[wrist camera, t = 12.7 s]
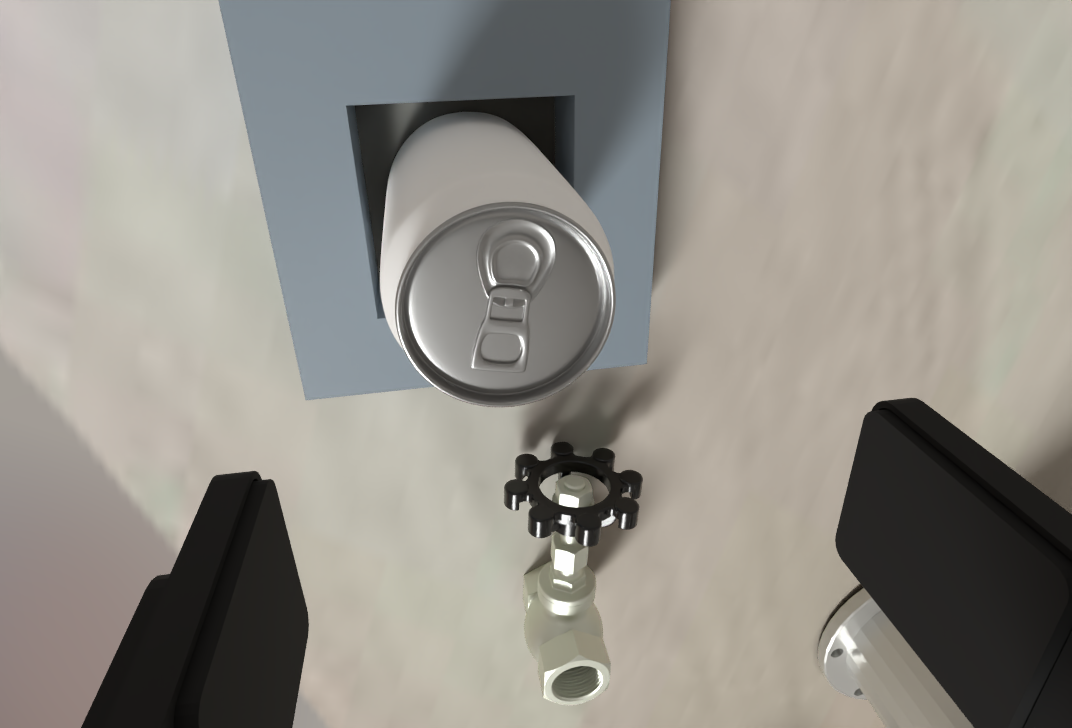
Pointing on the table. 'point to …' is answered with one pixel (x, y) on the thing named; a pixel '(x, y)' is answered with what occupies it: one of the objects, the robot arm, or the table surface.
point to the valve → (569, 566)
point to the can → (492, 264)
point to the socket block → (429, 76)
